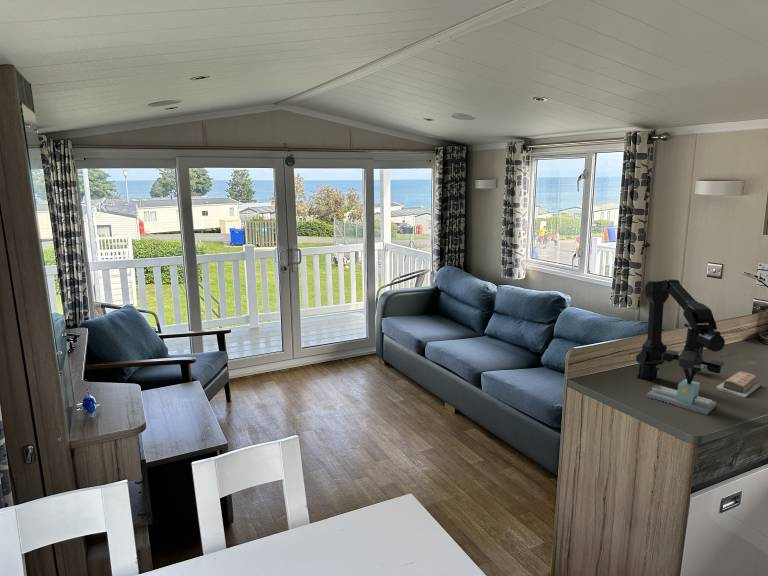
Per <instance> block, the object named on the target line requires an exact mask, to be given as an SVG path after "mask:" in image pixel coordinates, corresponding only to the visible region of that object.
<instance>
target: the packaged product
mask: <svg viewBox="0 0 768 576" xmlns="http://www.w3.org/2000/svg"><path fill="white" fill-rule="evenodd" d="M756 381H757V376H756V375H754V374H753V373H750V372H746V371H742V370H740V371H739V370H738V371H737V372H735V373H734V374H733V375H731V376H730V377H728V378H727V379H725V380H724V381H722V383H720V384H717V386H716V387H715V388H716V390H717V391H719V392H722V393H727V394H730V395H734V396H738V397H739V398H740V397H741V398H744V399H745V398H747V396H749V395H750V394H752V393H753V392H755V391H756V389H758V388H760V386H762V384H761V383H758V382H756Z"/></svg>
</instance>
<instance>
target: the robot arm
mask: <svg viewBox="0 0 768 576" xmlns="http://www.w3.org/2000/svg"><path fill="white" fill-rule="evenodd" d="M644 290H645V291H644V294H645V298H646V300H647V301H648V303H649V304H648V305H649V306H648V322H647V323H648V325H647V338H646V340H645V341H644V343H643V344H642V345H641V346H642V347H641V351H640V352H639V353H637V355H636V356H635V359H636V360H635V361H636V362H637V363H638V364H639V366H638V373H637V375H636V378H638V379H639V378H640V379H643V380H647V381H650V382H655V381H656V380H657V379H659V377H660V376H659V375H660V367H659V365H661V366H662V365H663V364H664V361H665V362H669V363H670V362H673V361H675V360H676V361H678V367H681V369H682V370H683V372H684V375H685V379H686V380H687V383H688V384H691V383H692V381H694V380H695V378H696V376H697V375H698V374H699V372H702V371H703V370H704V369H707V371H708V372H709V373H710V372H711V373H715V374H721V373H723V371H725V366H726V364H725V363H724V361H720V360H716V359H711V360H710V361H706V360H704V349H707V350H709V351H712V352H714V353H716V352H720V351H721V350H723V349H724V347H725V344H726V341H725V338H724V337H723V336H722V335H721V331H719V330H718V327H717V322H716V320H715V317H714V314H713V312H712V309H711V308H710V307H708V306H706V305H705V304H704V303H701V302H698V301H697V300H695V298H693V296H692V295H691V294H690V293H689V292H688V290H686V289H685V287H684V286H682V284H681V282H680V281H679V280H678V279H674V278H673V279H669V278H667V279H665V280H649V281H648V282H647V283H646V284H645V285H644ZM670 296H671V297H672V299H673V300H675V301H676V302H677V304H678V305H679V306H680V307H681V308H682V310H683V314H682V315H683V316H684V318H685V320H686V321H687V322H685V323H684V324H683V326H684V327H685V328H687V331H686V332H687V333H686V338H685V344H684V347H683V350H682V351H681V353H679V351H676V350H672V349H668V347H667V345H666V344H665V343H664V342H663V341H662V339H663V338H662V337H663V322H664V321H663V319H664V304H665V303H666V302H667V301H668V299H669V297H670Z"/></svg>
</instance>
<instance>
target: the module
mask: <svg viewBox="0 0 768 576" xmlns="http://www.w3.org/2000/svg"><path fill="white" fill-rule="evenodd" d="M700 385H701V383H700V382H697V381H694V380H693V381H692V383H691V384H688V383H687V379H686V378H685V379H683V380H682V381H681V382H679V383H678V385H677V390H678V391H677V398H676V400H678V401H681V402H685V403H688V404H692V403H693V398H694V397H695V396H699V392H700V388H701V387H700Z"/></svg>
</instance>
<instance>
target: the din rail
mask: <svg viewBox="0 0 768 576" xmlns="http://www.w3.org/2000/svg"><path fill="white" fill-rule="evenodd" d="M651 390H652V391H653V392H657V393H660V394H664V395H667V396H671V397H674V398H677V391H678V389H674V388H669V387H666V386H662V385H660V384H659V385H658V384H655V385H653V386H652V387H651ZM712 401H713V402H714V400H713V399H710V398H706V397H702V396H699V395H698V396H695V397H694V398H693V403H695V404H699V405H702V406H706V407H710V406H711V405H712Z"/></svg>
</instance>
